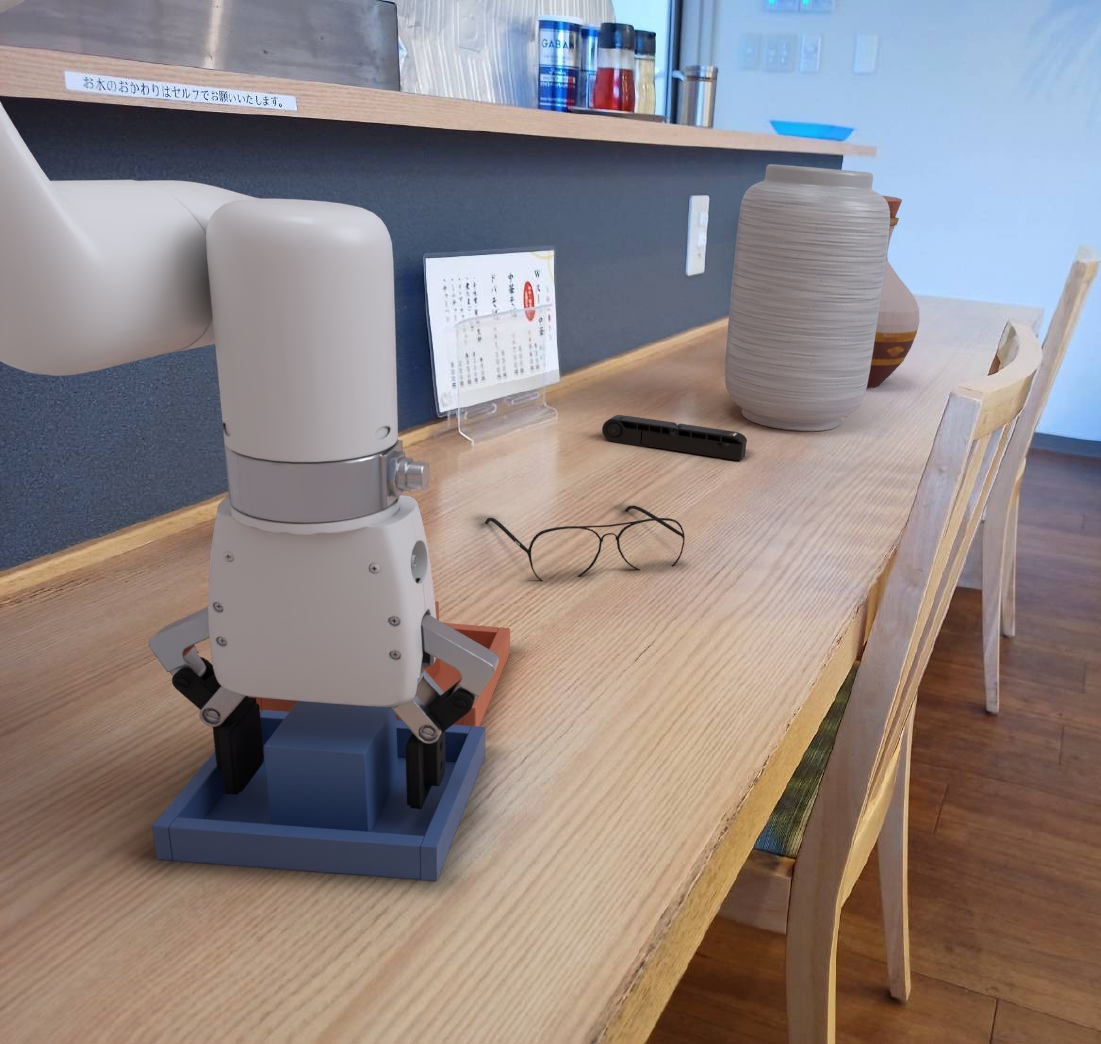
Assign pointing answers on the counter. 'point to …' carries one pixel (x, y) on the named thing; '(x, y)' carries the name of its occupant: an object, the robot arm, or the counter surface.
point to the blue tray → (387, 851)
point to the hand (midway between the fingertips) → (333, 785)
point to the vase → (805, 296)
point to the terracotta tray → (447, 673)
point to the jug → (893, 317)
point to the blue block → (331, 766)
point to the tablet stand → (675, 437)
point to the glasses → (596, 534)
